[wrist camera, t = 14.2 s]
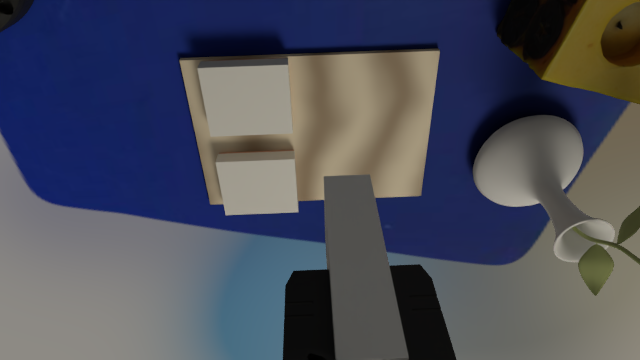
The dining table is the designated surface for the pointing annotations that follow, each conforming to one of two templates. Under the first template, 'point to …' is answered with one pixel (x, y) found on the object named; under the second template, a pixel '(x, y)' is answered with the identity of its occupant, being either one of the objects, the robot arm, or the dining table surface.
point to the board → (339, 119)
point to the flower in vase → (550, 189)
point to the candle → (578, 43)
